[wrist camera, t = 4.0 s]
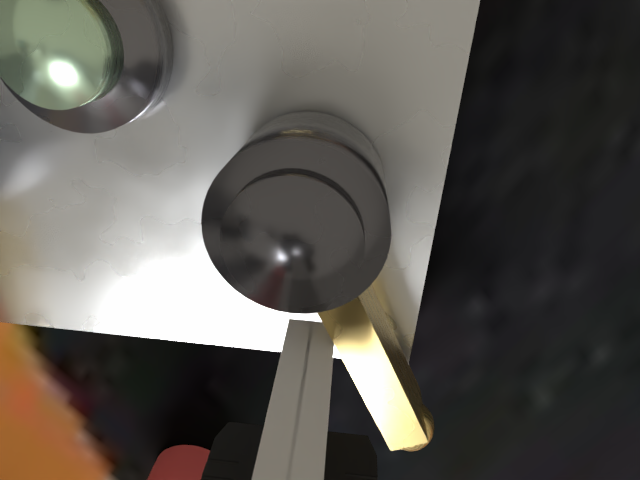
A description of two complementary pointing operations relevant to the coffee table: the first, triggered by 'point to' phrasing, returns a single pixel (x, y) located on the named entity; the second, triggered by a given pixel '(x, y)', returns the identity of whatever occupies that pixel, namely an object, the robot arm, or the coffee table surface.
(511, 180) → the coffee table surface
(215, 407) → the coffee table surface
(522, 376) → the coffee table surface
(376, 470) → the robot arm
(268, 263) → the screw
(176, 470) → the figurine
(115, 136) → the tribrach plate
